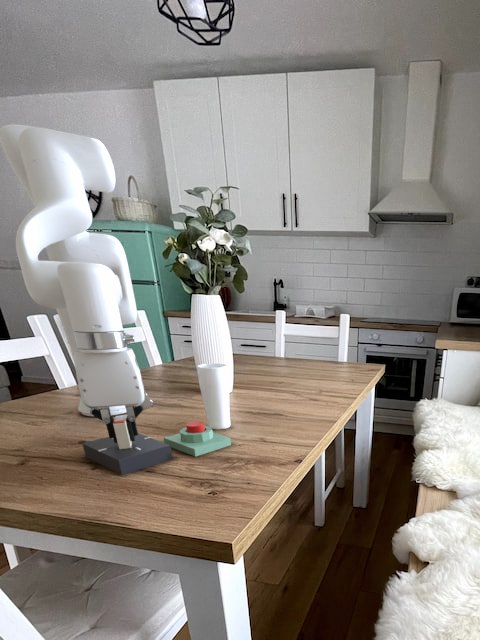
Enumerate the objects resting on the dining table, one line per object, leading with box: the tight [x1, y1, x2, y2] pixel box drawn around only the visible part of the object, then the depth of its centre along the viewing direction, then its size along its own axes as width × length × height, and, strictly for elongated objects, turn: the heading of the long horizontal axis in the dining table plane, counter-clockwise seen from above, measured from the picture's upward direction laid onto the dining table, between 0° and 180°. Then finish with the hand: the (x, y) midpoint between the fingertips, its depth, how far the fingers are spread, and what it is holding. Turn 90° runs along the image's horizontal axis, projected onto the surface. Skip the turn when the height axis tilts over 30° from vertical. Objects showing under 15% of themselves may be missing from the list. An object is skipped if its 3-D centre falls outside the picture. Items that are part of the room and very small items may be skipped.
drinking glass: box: [196, 363, 232, 431], centre depth 95 cm, size 7×7×15 cm
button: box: [185, 421, 205, 433], centre depth 85 cm, size 4×4×2 cm
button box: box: [163, 425, 232, 458], centre depth 86 cm, size 11×9×4 cm
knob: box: [113, 414, 132, 449], centre depth 77 cm, size 6×2×5 cm, turn 26°
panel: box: [81, 432, 173, 476], centre depth 78 cm, size 14×10×3 cm
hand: (125, 439), depth 77 cm, fingers closed on knob, 2 cm apart
